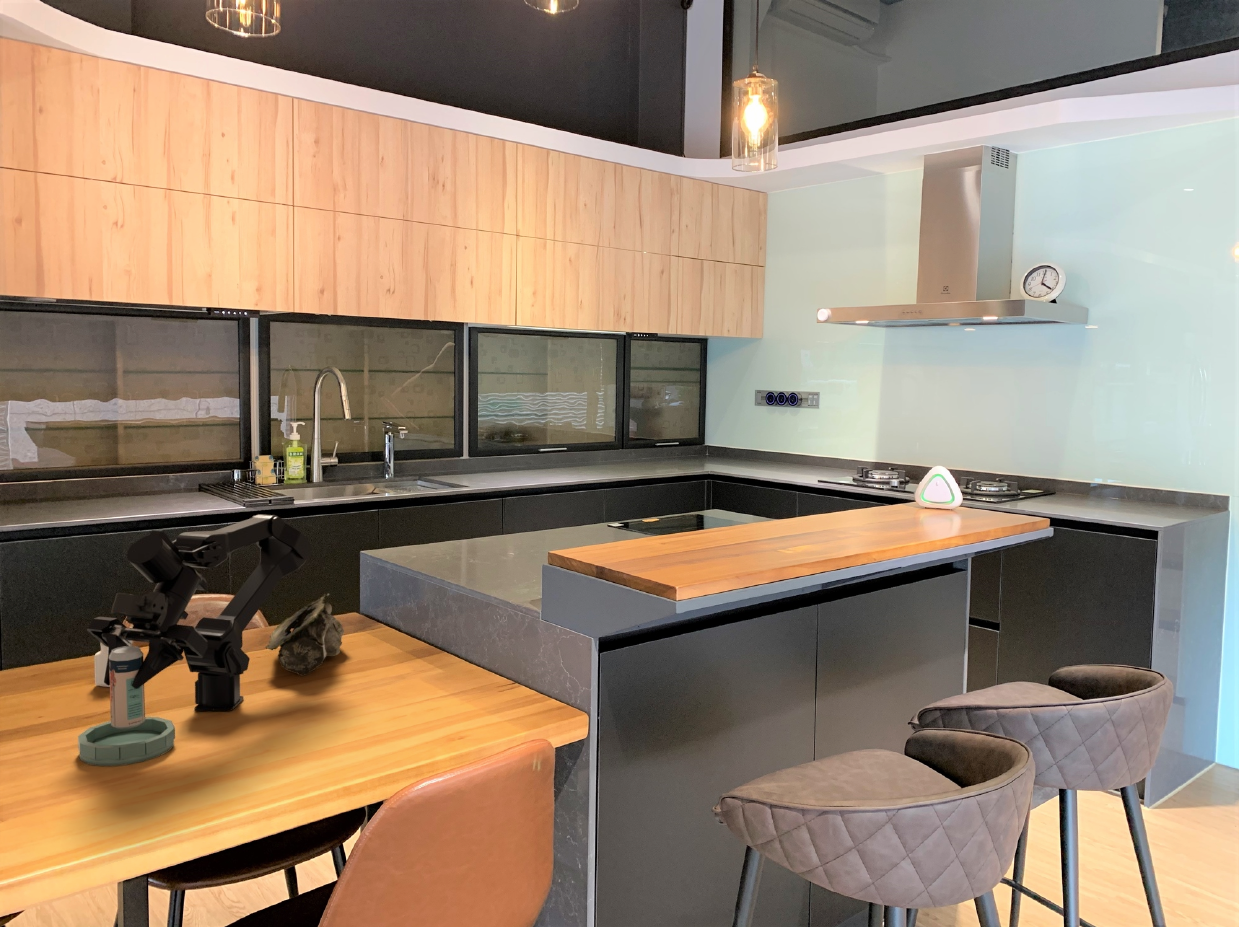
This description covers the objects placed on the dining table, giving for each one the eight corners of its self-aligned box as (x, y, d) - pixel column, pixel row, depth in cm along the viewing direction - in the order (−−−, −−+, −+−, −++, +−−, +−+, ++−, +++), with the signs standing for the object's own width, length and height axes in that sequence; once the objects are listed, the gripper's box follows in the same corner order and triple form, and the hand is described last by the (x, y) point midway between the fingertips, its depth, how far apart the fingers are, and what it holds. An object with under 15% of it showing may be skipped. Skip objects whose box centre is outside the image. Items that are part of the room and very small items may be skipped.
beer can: (122, 718, 147) (119, 644, 146) (151, 719, 147) (149, 645, 146) (104, 730, 143) (101, 653, 142) (134, 731, 142) (132, 654, 141)
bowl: (186, 733, 152) (186, 716, 152) (153, 765, 139) (152, 747, 139) (104, 733, 151) (103, 717, 151) (62, 766, 138) (61, 748, 138)
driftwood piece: (297, 707, 179) (352, 651, 179) (246, 663, 177) (302, 607, 177) (323, 660, 207) (371, 612, 207) (280, 621, 205) (328, 573, 205)
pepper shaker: (112, 688, 173) (111, 638, 172) (93, 686, 174) (92, 636, 173) (127, 681, 177) (126, 632, 176) (109, 680, 178) (108, 631, 177)
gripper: (94, 567, 149) (37, 654, 139) (193, 575, 144) (142, 666, 135) (132, 604, 157) (82, 688, 148) (228, 613, 153) (182, 701, 143)
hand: (120, 685), depth 143 cm, fingers closed on beer can, 5 cm apart
